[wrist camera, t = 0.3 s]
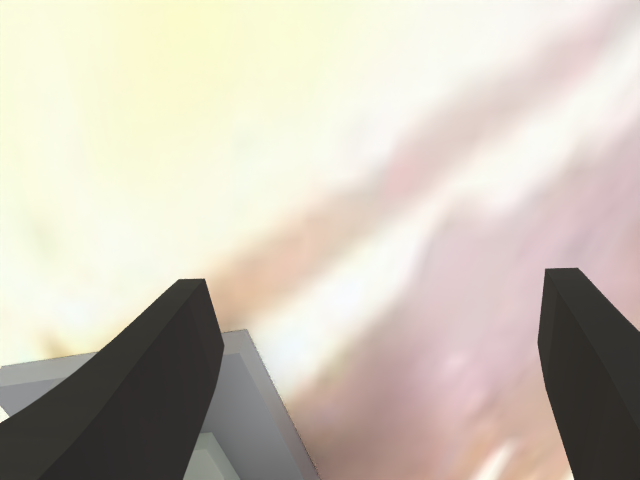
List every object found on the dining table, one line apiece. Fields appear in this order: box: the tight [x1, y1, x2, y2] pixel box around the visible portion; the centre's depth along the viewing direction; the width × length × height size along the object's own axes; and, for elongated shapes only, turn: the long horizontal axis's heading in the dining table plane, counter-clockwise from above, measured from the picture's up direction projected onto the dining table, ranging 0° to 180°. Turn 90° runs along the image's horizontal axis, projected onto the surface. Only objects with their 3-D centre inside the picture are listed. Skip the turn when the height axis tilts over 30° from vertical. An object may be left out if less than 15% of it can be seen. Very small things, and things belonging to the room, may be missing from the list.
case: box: [0, 329, 320, 480], centre depth 32 cm, size 16×14×2 cm
